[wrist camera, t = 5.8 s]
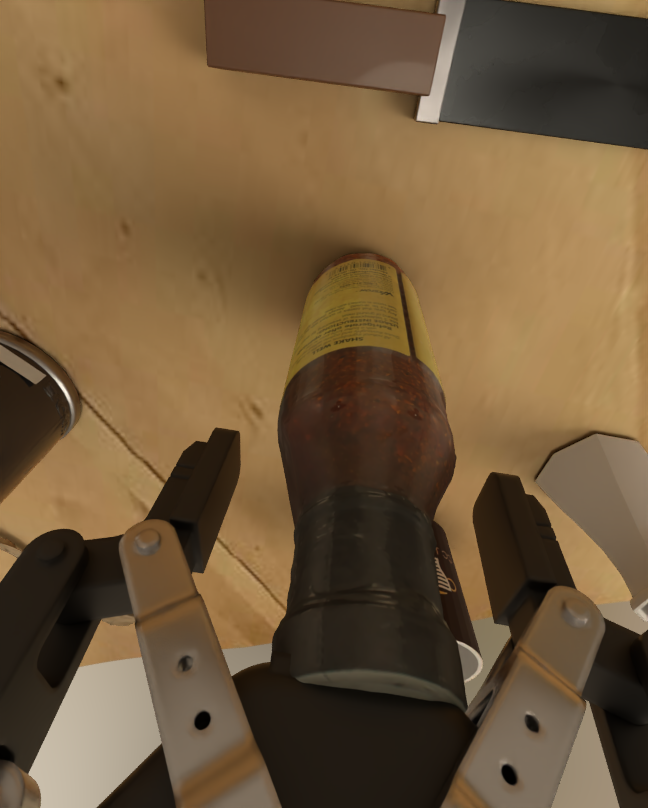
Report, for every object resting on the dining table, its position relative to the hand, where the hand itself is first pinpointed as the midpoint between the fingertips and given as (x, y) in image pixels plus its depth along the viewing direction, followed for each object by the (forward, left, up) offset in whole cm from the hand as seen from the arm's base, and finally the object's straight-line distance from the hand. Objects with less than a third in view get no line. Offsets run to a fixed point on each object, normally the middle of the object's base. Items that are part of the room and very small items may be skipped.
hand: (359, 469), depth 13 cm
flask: (+18, -10, -14) cm, 25 cm away
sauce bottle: (0, 0, -14) cm, 14 cm away
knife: (+4, +11, -13) cm, 18 cm away
